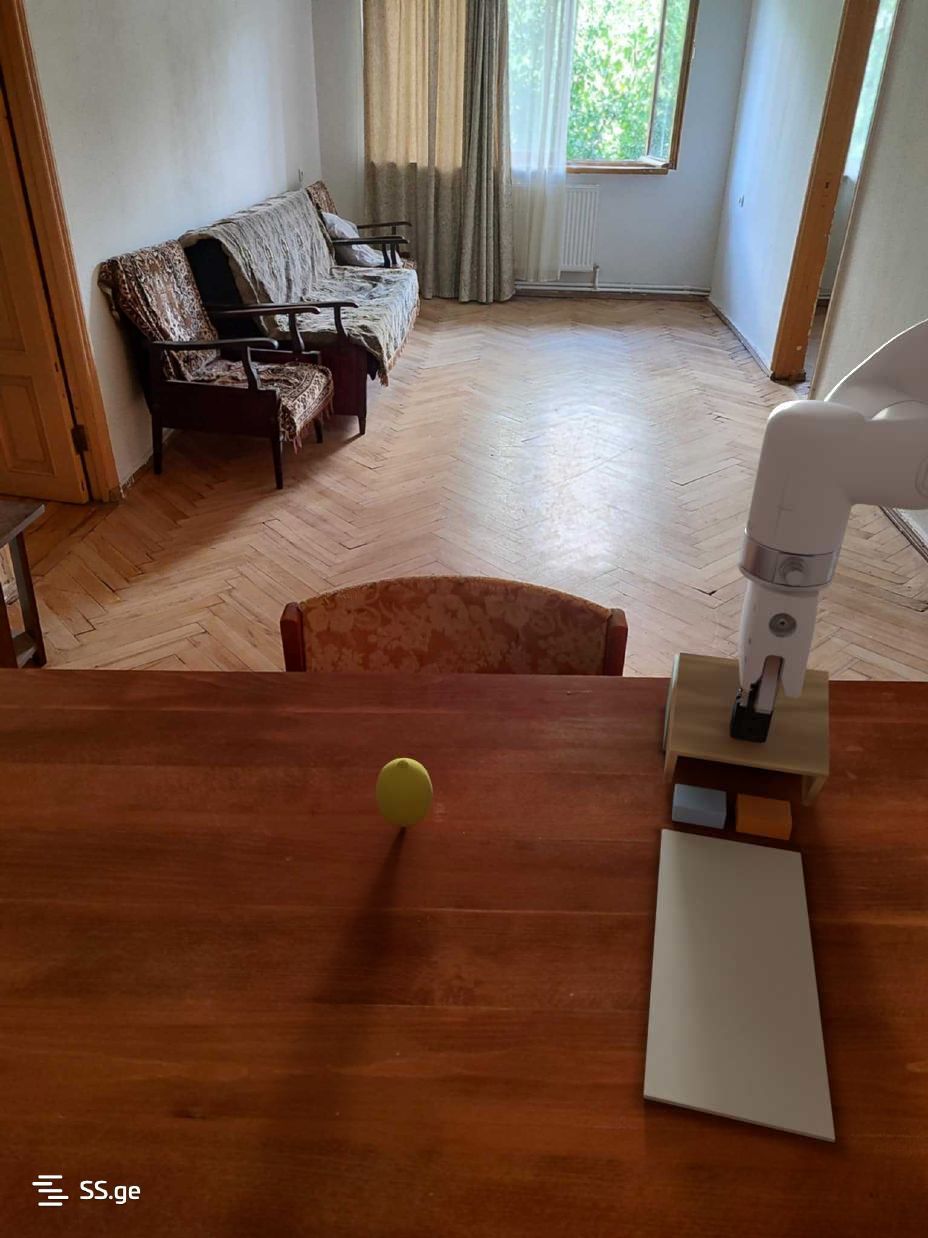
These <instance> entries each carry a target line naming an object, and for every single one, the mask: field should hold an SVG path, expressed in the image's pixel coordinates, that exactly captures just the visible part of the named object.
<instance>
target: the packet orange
mask: <svg viewBox="0 0 928 1238" xmlns="http://www.w3.org/2000/svg"><path fill="white" fill-rule="evenodd" d="M734 820H735V821H734V823H735V825H734V827H735V832H736V833H742V834H748V835H754V836H758V837H759V836H760V837H764V838H765V837H766V838H771V839H776V840H783V841H789V839H790V837H791V833H792V828H793V820H792V810H791V803H790V801H788V800H787V801H786V800H781V799H774V798H768V797H763V796H756V795H750V794H743V793H738V794H737V797H736V802H735V805H734Z"/></svg>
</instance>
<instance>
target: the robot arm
mask: <svg viewBox="0 0 928 1238" xmlns="http://www.w3.org/2000/svg"><path fill="white" fill-rule="evenodd" d="M749 501H750V502H749V507H748V513H747V518H746V522H745V528H744V532H743V537H742V542H741V546H740V552H739V557H738V562H737V568H738V570H739V572H740V574H742V576H744V577H745V578H746V579H748V582H747V586H746V590H745V594H744V600H743V605H742V610H741V616H740V622H739V623H740V624H739V629H738V640H737V652H738V659H739V671H740V686H739V692H742V694H741V693H736V698H735V702H734V707H733V712H732V716H731V721H730V737H731V738H733V739H738V740H744V741H751V742H757V743H764V742H766V739H767V735H768V731H769V727H770V723H771V719H772V715H773V711H774V704H775V701H776V697H777V694H778V690H779V687H780V683H781V680H782V682H783V686H784V691H785V695H786V698H791V699H792V700H795V699H797V698H798V697H800V695H801V691H802V686H803V682H804V677H805V672H806V669H807V666H808V661H809V656H810V652H811V647H812V642H813V638H814V632H815V628H816V620H817V614H818V606H819V595H820V591H823V590H827V588H829V587H830V586H831V585H832V583H833V580H834V576H835V574H836V573H835V572H836V569H837V565H838V561H839V558H840V553H841V550H842V545H843V542H844V538H845V535H846V532H847V527H848V523H849V519H850V516H851V511H852V507H853V506H856V505H866V506H874V507H882V508H889V509H897V510H904V511H905V510H906V511H921V510H923V511H924V510H928V318H927V319H925V320H922V321H921V322H918V323H916V324H914V325H913V326H911V327H909V328H908V329H906V330H904V331H902V332H901V333H899V334H897V335H896V336H894V337H892V338H891V339H890V340H888V342H886V343H885V344H883V345H882V346H881V347H880V348H878V349H877V350H876V351H875V352H873V353H872V354H871V355H870V356H869V357H868V358H866V359H865V360H864V361H863V362H861V363H860V364H859V365H857V367H856V368H854V369H853V370H852V371H851V372H850V373H849V374H847V376H845V377H844V378H843V379H842V380H841V381H839V383H838V384H837V385H836V386H835V387H833V389H832V390H831V391H830V393H829V394H828V395H827V396H826V397H825V398H824V400H818V399H817V400H815V399H799V400H791V401H787V402H784V403H781V404H780V405H778V406H777V407H775V408H774V409H773V410H772V412H771V413H770V414H769V415H768V418H767V420H766V424H765V427H764V432H763V437H762V442H761V447H760V451H759V457H758V462H757V467H756V471H755V477H754V482H753V486H752V493H751V496H750V500H749Z"/></svg>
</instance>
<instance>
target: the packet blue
mask: <svg viewBox="0 0 928 1238" xmlns="http://www.w3.org/2000/svg"><path fill="white" fill-rule="evenodd" d="M726 817H727V792H726V791H724V790H718V789H711V788H705V787H701V786H700V787H699V786H694V785H687V784H681V783H675V784H674V791H673V797H672V813H671V820H672V822H679V823H684V824H690V825H696V826H702V827H707V828H708V827H709V828H714V829H720V830H723V829H724V827H725V823H726V819H727V818H726Z"/></svg>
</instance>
